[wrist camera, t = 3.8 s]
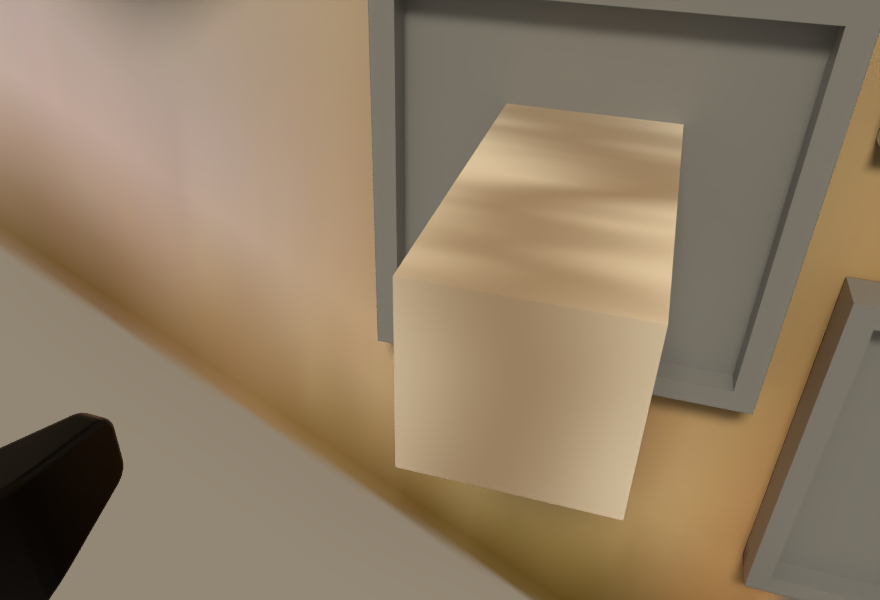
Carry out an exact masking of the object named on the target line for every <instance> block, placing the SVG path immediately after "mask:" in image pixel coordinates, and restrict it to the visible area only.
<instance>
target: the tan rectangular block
mask: <svg viewBox="0 0 880 600" xmlns="http://www.w3.org/2000/svg"><path fill="white" fill-rule="evenodd" d="M683 126H684V124H675V123H667V122H658V121H650V120H642V119H633V118H625V117H616V116H608V115H600V114H591V113H583V112H574V111H566V110H558V109H549V108H541V107H532V106H524V105H516V104H506V105H505V107H504V108H503V110H502V111H501V113H500V114H499V116H498V117H497V119H496V120H495V122H494V123H493V125H492V126H491V128H490V129H489V131H488V132H487V134H486V135H485V137H484V138H483V140H482V141H481V143H480V144H479V146H478V148H477V149H476V151H475V152H474V154H473V155H472V157H471V158H470V160H469V161H468V163H467V164H466V166H465V167H464V169H463V170H462V172H461V173H460V175H459V176H458V178H457V179H456V181H455V182H454V184H453V185H452V187H451V188H450V190H449V192H448V193H447V195H446V196H445V198H444V199H443V201H442V202H441V204H440V205H439V207H438V208H437V210H436V211H435V213H434V214H433V216H432V217H431V219H430V220H429V222H428V223H427V225H426V226H425V228H424V229H423V231H422V233H421V234H420V236H419V237H418V239H417V240H416V242H415V243H414V245H413V246H412V248H411V249H410V251H409V252H408V254H407V255H406V257H405V258H404V260H403V261H402V263H401V264H400V266H399V267H398V269H397V270H396V272H395V273H394V275H393V331H394V399H395V467H398V468H402V469H406V470H410V471H415V472H419V473H423V474H427V475H432V476H436V477H440V478H444V479H449V480H453V481H457V482H461V483H466V484H470V485H474V486H478V487H483V488H487V489H491V490H495V491H500V492H504V493H508V494H512V495H517V496H521V497H525V498H530V499H534V500H538V501H542V502H547V503H551V504H555V505H559V506H564V507H568V508H572V509H576V510H581V511H585V512H589V513H593V514H598V515H602V516H606V517H610V518H615V519H619V520H623V519H624V514H625V510H626V506H627V501H628V497H629V493H630V488H631V484H632V480H633V475H634V471H635V467H636V462H637V458H638V454H639V449H640V445H641V440H642V436H643V432H644V427H645V423H646V419H647V414H648V410H649V406H650V401H651V397H652V393H653V388H654V384H655V380H656V375H657V371H658V367H659V362H660V358H661V353H662V349H663V345H664V340H665V336H666V332H667V327H668V320H669V307H670V294H671V281H672V268H673V255H674V242H675V229H676V217H677V204H678V191H679V178H680V165H681V152H682V139H683Z"/></svg>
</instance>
